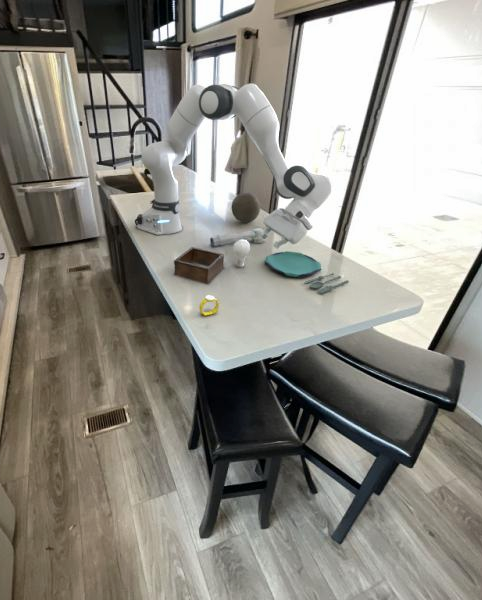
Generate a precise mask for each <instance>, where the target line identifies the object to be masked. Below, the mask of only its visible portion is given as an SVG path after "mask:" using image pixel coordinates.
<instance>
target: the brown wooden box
mask: <svg viewBox="0 0 482 600" xmlns="http://www.w3.org/2000/svg"><path fill="white" fill-rule="evenodd" d="M173 262H174V263H173V265H174V275H175V276H176V277H177V276H178V277H181V278H185V279H189V280H193V281H196V282H200V283H203V284H207V285H208V284H209V283H211V281H212V280H213V279H214V278H215V277H216V276H217V275H218V274H219V273H220V272H221V271H222V270H223V269H224V262H225V253H221V252H216V251H211V250H207V249H203V248H199V247H194V246H191V247H189V248H188V249H187V250H186V251H184V252H183V253H182V254H180V255H179V256H177V258H175V259H174V260H173ZM194 263H197V264H194ZM198 264H199V265H198ZM200 264H201V265H200ZM202 265H204V266H202Z"/></svg>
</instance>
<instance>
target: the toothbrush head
mask: <svg viewBox="0 0 482 600" xmlns="http://www.w3.org/2000/svg"><path fill="white" fill-rule="evenodd" d="M263 232H264V228H262V227H256V228H254V229H252V230H247V231H240V232H234V233H228V234H222V235H219V234H218V235H216V236H213V237H210V239H209V241H210V246H211V247H212V248H214V247H217V246H219V247H221V246H222V245H227V244H231V243H235V242H236V241H238V240H248V239H251V241H252V243H253V244H262V243H263V242H265V240H266V238H265V239H263V238H262V237H261V234H262V233H263Z"/></svg>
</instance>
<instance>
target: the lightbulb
mask: <svg viewBox="0 0 482 600" xmlns="http://www.w3.org/2000/svg"><path fill="white" fill-rule="evenodd" d="M232 250H233V253H234V255H235V258H236V267H238V268H243V267H244V264H245V260H246V257H247V256H248V255H249V253H250V252H251V244H250V243H249V241H247V239H244V240H238V241H235V242H234V244H233V247H232Z"/></svg>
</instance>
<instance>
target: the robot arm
mask: <svg viewBox="0 0 482 600" xmlns="http://www.w3.org/2000/svg"><path fill="white" fill-rule="evenodd" d="M235 117H237V118H238V120H239V121H240V122H241V124H242V127H244V130H245V131H246V133H247V134H248V136H249V137H250V139H251V140H252V142H253V143H254V144H255V146H256V147H257V149H258V150H259V152H260V153H261V156H262V157H263V159H264V161H265V163H266V165H267V167H268V168H269V171H270V172H271V175H272V176H273V178H274V186H275V187H274V188H275V192H276V193H277V195H278V196H279V197H280V198H282V199H285V200H291V199H292V200H291V201H290V202H289V203H288V204H287V205H286V206H285V208H283V207H279V208H277V209H274V210H273V211H272V212H271V213H270V214H268V215H267V216H266V217H265V218H264V219H263V221H262V223H263V224H264V226H265V227H264V228H263V233H262V234H261V237H262V238H263V239H265V240H266V239H267V238H268V234H269V233H270V232H271V231H272V232H274V233H275V234H277V235H278V236H280V237H281V239H280V240H278V241H277V240H276V241H275V242H274V243H273V244H272V246H273V247H274V248H275V249H279V248H280V247H281V246H283V245H286V244H287V243H288V242H289V244H292V245H296V244H298V243H299V242H300V241H301V240H302V239H303V238H304V237H305V236H306V235H307V233H308V231H311V230H312V229H313V224H312V222H311V221H310V217H311V216H312V214H313V212H314V211H316V210H317V209H319V208H321V206H322V205H323V204H324V203H325V202H326V200H327V199H328V198H329V196H330V195H331V193H332V192H333V183H332V181H331V180H330V178H329V177H328V176H327V175H326V174H324V173H317V172H313V171H311V170H308V169H306V168H305V167H304V166H301V165H293V166H291V167H289V165H288V163H287V162H286V159H285V158H284V155H283V153H282V152H281V149H280V145H279V132H280V122H279V120H278V116H277V114H276V112H275V110H274V108H273V106H272V104H271V103H270V101H269V100H268V98H267V97H266V95H265V94H264V92H263V91H262V90H261V89H260V88H259V87H258V86H257V85H256V84H255V83H247V84H244V85H242V86H241V87H240V88H238V87H236V86H234V85H230V84H225V83H223V84H210V85H208V86H207V87H205V86H203V85H201V84H194V85H192V86H191V87H190V88H189V89H188V90H187V91H186V93H185V94H184V95H183V97H182V98H181V100H179V103H178V105H177V106H176V108H175V109H174V111H173V113H172V115H171V116H170V119H169V120H168V122H167V133H166V135H165V137H164V139H162V140H161V141H155V142H152V143H150V144H148V145H147V146H145V147H144V148H143V149H142V152H141V163H142V164H143V166H144V168H146V170H148V171H149V174H150V176H151V180H152V185H153V193H154V198H153V199H152V200H150V201H149V204H150V205H151V207H150V208H149V209H147V210H146V211H145V212H143V213H139V214H137V217H136V218H135V219H134V225H135V226H136V228H137V229H139V230H142V231H145V232H146V233H147V232H148V233H151V234H153V235H156V236H160V235H169V234H170V235H171V234H175V233H178V232H181V231H182V230H183V227H182V222H181V217H180V199H179V183H178V180H177V179H176V178H175V177H174V173H173V167H177V166H178V165H180V164H181V163H182V162H184V161H185V159H186V158H187V149H188V147H189V145H190V142H191V140H192V139H193V138H194V135H195V134H196V133H197V131H198V129H199V128H200V127H201V124H203V121H204V120H205V119H208V120H211V121H224V120H227V119H228V120H229V119H233V118H235Z"/></svg>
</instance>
